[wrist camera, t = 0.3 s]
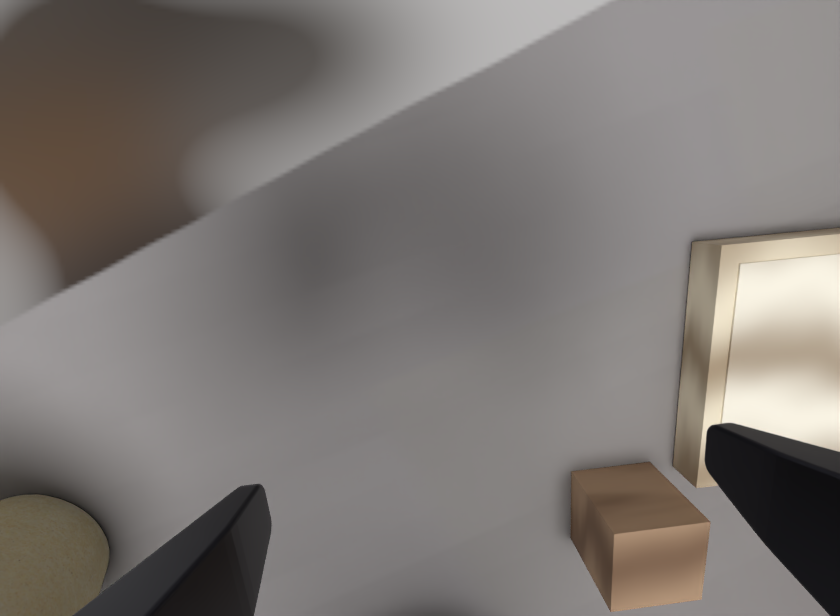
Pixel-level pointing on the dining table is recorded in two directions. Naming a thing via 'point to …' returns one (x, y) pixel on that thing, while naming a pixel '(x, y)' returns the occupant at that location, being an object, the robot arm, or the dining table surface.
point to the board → (760, 342)
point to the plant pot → (48, 557)
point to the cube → (638, 536)
